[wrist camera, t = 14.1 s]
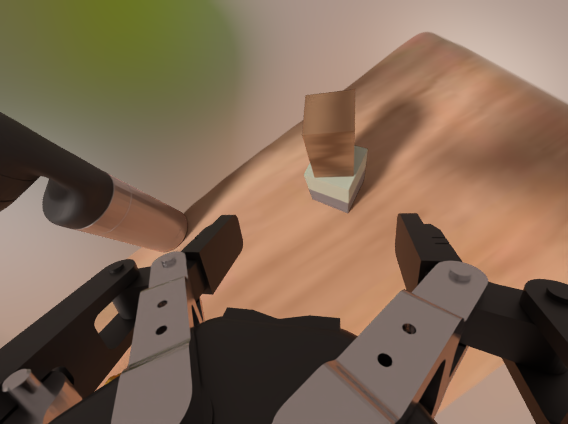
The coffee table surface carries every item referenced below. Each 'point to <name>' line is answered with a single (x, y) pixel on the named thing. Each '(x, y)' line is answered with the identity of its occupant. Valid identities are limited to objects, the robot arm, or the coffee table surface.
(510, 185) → the coffee table surface
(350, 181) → the tower top
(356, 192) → the tower base
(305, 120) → the walnut block
